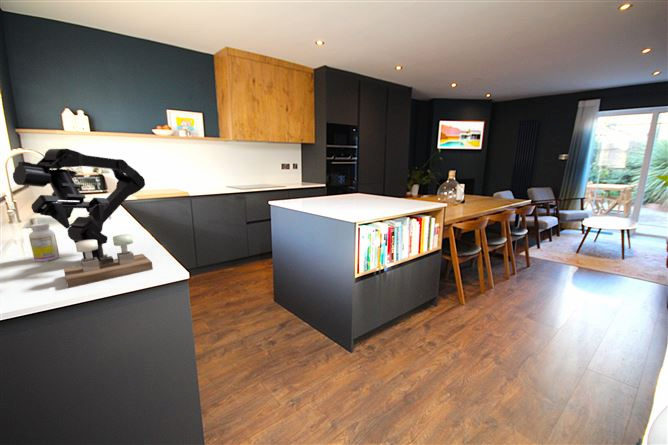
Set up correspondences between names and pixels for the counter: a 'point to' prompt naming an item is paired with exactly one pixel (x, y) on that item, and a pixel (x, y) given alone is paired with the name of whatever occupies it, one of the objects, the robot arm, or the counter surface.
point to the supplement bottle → (43, 243)
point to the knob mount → (106, 268)
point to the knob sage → (123, 242)
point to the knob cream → (87, 247)
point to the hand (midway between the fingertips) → (85, 227)
